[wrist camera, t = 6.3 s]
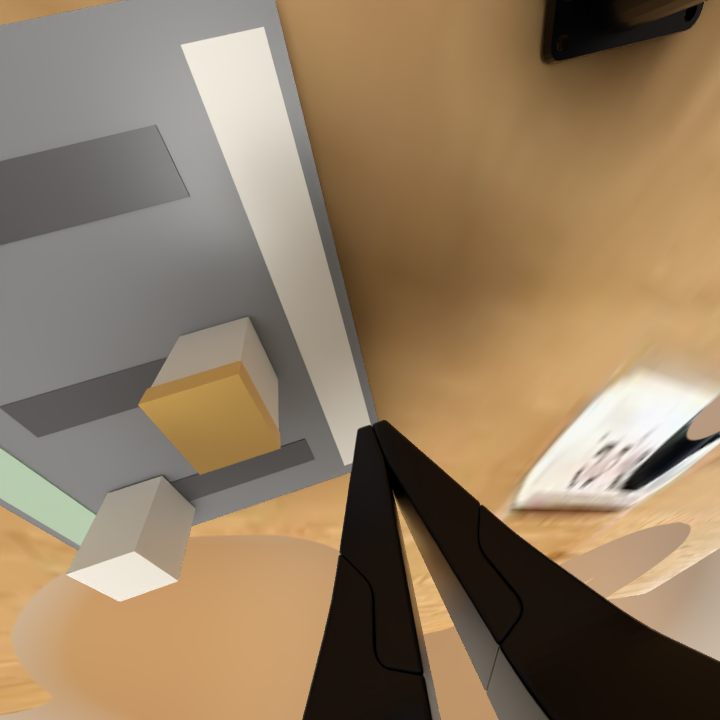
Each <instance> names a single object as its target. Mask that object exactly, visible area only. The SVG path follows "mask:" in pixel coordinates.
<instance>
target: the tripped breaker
mask: <svg viewBox="0 0 720 720" xmlns="http://www.w3.org/2000/svg"><path fill="white" fill-rule="evenodd" d="M138 406H139V407H140V408H141V409H142V410H143V411H144V412H145V413H146V415H147V416H148V417H149V418H150V419H151V420H152V421H153V423H154V424H155V425H156V426H157V427H158V428H159V429H160V430H161V432H162V433H163V434H164V435H165V436H166V437H167V438H168V439H169V441H170V442H171V443H172V444H173V445H174V446H175V447H176V449H177V450H178V451H179V452H180V453H181V454H182V455H183V456H184V458H185V459H186V460H187V461H188V462H189V463H190V464H191V465H192V467H193V468H194V469H195V470H196V471H197V472H198V473H199V475H201V474H204V473H207V472H211V471H214V470H217V469H220V468H223V467H226V466H229V465H232V464H235V463H238V462H241V461H244V460H247V459H250V458H253V457H256V456H260V455H263V454H266V453H269V452H272V451H275V450H278V449H281V443H280V432H279V413H278V378H277V376H276V374H275V371H274V369H273V367H272V365H271V363H270V361H269V359H268V357H267V355H266V352H265V350H264V348H263V346H262V344H261V342H260V340H259V338H258V335H257V333H256V331H255V329H254V327H253V325H252V323H251V321H250V319H249V316H248V317H245V318H241V319H238V320H234V321H231V322H227V323H224V324H220V325H217V326H214V327H210V328H207V329H203V330H200V331H196V332H193V333H189V334H186V335H182V336H179V338H178V340H177V342H176V343H175V345H174V347H173V349H172V351H171V352H170V354H169V356H168V358H167V359H166V361H165V363H164V365H163V366H162V368H161V370H160V372H159V374H158V375H157V377H156V379H155V381H154V382H153V384H152V386H151V388H148V389H147V390H146V391H145V393H144V395H143V397H142V398H141V400H140V402H139V404H138Z"/></svg>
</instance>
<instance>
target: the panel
mask: <svg viewBox="0 0 720 720" xmlns="http://www.w3.org/2000/svg"><path fill="white" fill-rule="evenodd" d="M248 316H249V319H250V321H251V323H252V325H253V327H254V329H255V331H256V333H257V335H258V338H259V340H260V342H261V344H262V346H263V348H264V350H265V352H266V355H267V357H268V359H269V361H270V363H271V365H272V367H273V369H274V371H275V374H276V376H277V378H278V413H279V432H280V443H281V449H278V450H275V451H272V452H269V453H266V454H263V455H260V456H256V457H253V458H250V459H247V460H244V461H241V462H238V463H235V464H232V465H229V466H226V467H223V468H220V469H217V470H214V471H211V472H207V473H204V474H201V475H199V473H198V472H197V471H196V470H195V469H194V468H193V467H192V465H191V464H190V463H189V462H188V461H187V460H186V459H185V458H184V456H183V455H182V454H181V453H180V452H179V451H178V450H177V449H176V447H175V446H174V445H173V444H172V443H171V442H170V441H169V439H168V438H167V437H166V436H165V435H164V434H163V433H162V432H161V430H160V429H159V428H158V427H157V426H156V425H155V424H154V423H153V421H152V420H151V419H150V418H149V417H148V416H147V415H146V413H145V412H144V411H143V410H142V409H141V408H140V407H139V406H138V404H139V402H140V400H141V398H142V397H143V395H144V393H145V391H146V390H147V389H148V388H151V386H152V384H153V382H154V381H155V379H156V377H157V375H158V374H159V372H160V370H161V368H162V366H163V365H164V363H165V361H166V359H167V358H168V356H169V354H170V352H171V351H172V349H173V347H174V345H175V343H176V342H177V340H178V338H179V336H182V335H186V334H189V333H193V332H196V331H200V330H203V329H207V328H210V327H214V326H217V325H220V324H224V323H227V322H231V321H234V320H238V319H241V318H245V317H248ZM376 422H378V418H377V414H376V410H375V406H374V402H373V398H372V394H371V390H370V386H369V382H368V378H367V373H366V369H365V365H364V361H363V357H362V353H361V349H360V345H359V341H358V337H357V333H356V329H355V325H354V321H353V316H352V312H351V308H350V304H349V300H348V296H347V292H346V288H345V284H344V280H343V276H342V272H341V268H340V263H339V259H338V255H337V251H336V247H335V243H334V239H333V235H332V231H331V227H330V223H329V219H328V215H327V211H326V206H325V202H324V198H323V194H322V190H321V186H320V182H319V178H318V174H317V170H316V166H315V162H314V158H313V154H312V149H311V145H310V141H309V137H308V133H307V129H306V125H305V121H304V117H303V113H302V109H301V105H300V101H299V96H298V92H297V88H296V84H295V80H294V76H293V72H292V68H291V64H290V60H289V56H288V52H287V48H286V44H285V39H284V35H283V31H282V27H281V23H280V19H279V15H278V11H277V7H276V3H275V0H123V1H118V2H113V3H108V4H103V5H98V6H94V7H89V8H84V9H79V10H74V11H69V12H64V13H59V14H54V15H49V16H44V17H39V18H34V19H29V20H25V21H20V22H15V23H10V24H5V25H0V506H2V507H4V508H6V509H7V510H9V511H11V512H12V513H14V514H16V515H18V516H19V517H21V518H23V519H25V520H26V521H28V522H30V523H31V524H33V525H35V526H37V527H38V528H40V529H42V530H43V531H45V532H47V533H49V534H50V535H52V536H54V537H56V538H57V539H59V540H61V541H62V542H64V543H66V544H68V545H69V546H71V547H73V548H75V549H76V550H79V548H80V546H81V544H82V542H83V540H84V538H85V536H86V534H87V532H88V530H89V528H90V526H91V524H92V522H93V521H94V519H95V517H96V515H97V513H98V511H99V509H100V507H101V505H102V503H103V501H104V499H105V497H106V495H107V493H110V492H113V491H117V490H120V489H123V488H126V487H129V486H132V485H135V484H138V483H141V482H144V481H147V480H150V479H154V478H157V477H160V476H163V477H164V478H165V479H166V480H167V481H168V482H169V483H170V484H171V485H172V486H173V487H174V488H175V489H176V490H177V491H178V492H179V493H180V494H181V495H182V496H183V497H184V498H185V499H186V500H187V501H188V502H189V503H190V504H191V505H192V506H193V507H194V508H195V513H194V517H193V521H192V526H194V525H197V524H200V523H203V522H206V521H209V520H212V519H214V518H217V517H220V516H223V515H226V514H229V513H232V512H235V511H238V510H241V509H244V508H247V507H250V506H253V505H256V504H259V503H262V502H265V501H268V500H271V499H274V498H276V497H279V496H282V495H285V494H288V493H291V492H294V491H297V490H300V489H303V488H306V487H309V486H312V485H315V484H318V483H321V482H324V481H327V480H330V479H333V478H336V477H338V476H341V475H344V474H347V473H350V472H351V470H352V463H353V456H354V449H355V442H356V436H357V430H358V429H359V428H361V427H364V426H367V425H371V426H372V425H373V424H374V423H376Z"/></svg>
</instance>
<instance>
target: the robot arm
mask: <svg viewBox="0 0 720 720" xmlns="http://www.w3.org/2000/svg"><path fill="white" fill-rule="evenodd" d="M705 1H707V0H548V9H547V18H546V27H545V37H544V46H543V56H544V59H545V61H546V62H547V63H548V64H554V63H559V62H563V61H567V60H571V59H575V58H579V57H583V56H587V55H591V54H595V53H599V52H604V51H608V50H612V49H616V48H620V47H624V46H628V45H632V44H636V43H640V42H644V41H649V40H653V39H657V38H661V37H665V36H669V35H673V34H676V33H679V32H682V31H685V30H687V29H689V28H691V27H692V26H693V25H694V24H695V22H696V21H697V19H698V17H699V15H700V13H701V11H702V8H703V4H704V2H705ZM559 38H560V40H561V47H560V50H559V51H558V50H557V42H558V39H559ZM393 494H394V495H393ZM394 497H395V499H396V502H397V504H398V506H399V508H400V511H401V513H402V515H403V517H404V519H405V521H406V523H407V525H408V528H409V530H410V532H411V534H412V536H413V538H414V540H415V542H416V545H417V547H418V549H419V551H420V553H421V555H422V557H423V559H424V562H425V564H426V566H427V568H428V570H429V572H430V574H431V576H432V579H433V581H434V583H435V585H436V587H437V589H438V591H439V593H440V596H441V598H442V600H443V602H444V604H445V606H446V608H447V610H448V613H449V615H450V617H451V619H452V621H453V623H454V625H455V627H456V630H457V632H458V634H459V636H460V638H461V640H462V642H463V644H464V646H465V649H466V651H467V653H468V655H469V657H470V659H471V661H472V663H473V665H474V668H475V670H476V672H477V674H478V676H479V678H480V680H481V682H482V685H483V687H484V689H485V690H486V691H487V695H488V697H489V700H490V702H491V704H492V706H493V708H494V710H495V712H496V714H497V717H498V719H499V720H720V661H718V660H716V659H714V658H712V657H709V656H707V655H705V654H703V653H701V652H699V651H697V650H695V649H692V648H690V647H688V646H686V645H684V644H682V643H680V642H678V641H675V640H673V639H671V638H669V637H667V636H665V635H663V634H661V633H659V632H658V631H656V630H654V629H651V628H650V627H648V626H647V625H645V624H643V623H642V622H640V621H638V620H637V619H635V618H633V617H632V616H630V615H629V614H627V613H626V612H624V611H623V610H621V609H619V608H618V607H617V606H615V605H614V604H612V603H611V602H610V601H608V600H607V599H605V598H604V597H603V596H601V595H600V594H598V593H597V592H596V591H594V590H593V589H591V588H590V587H589V586H587V585H586V584H585V583H583V582H582V581H580V580H579V579H578V578H576V577H575V576H573V575H572V574H571V573H569V572H568V571H566V570H565V569H564V568H562V567H561V566H559V565H558V564H557V563H555V562H554V561H553V560H551V559H550V558H548V557H547V556H546V555H544V554H543V553H542V552H540V551H539V550H538V549H536V548H535V547H534V546H532V545H531V544H530V543H528V542H527V541H526V540H524V539H523V538H522V537H520V536H519V535H518V534H516V533H515V532H514V531H513V530H512V529H510V528H509V527H508V526H507V525H506V524H504V523H503V522H502V521H501V520H500V519H498V518H497V517H496V516H495V515H494V514H493V513H491V512H490V511H489V510H488V509H487V508H486V507H485V506H483V505H480V502H479V501H478V500H476V499H475V498H474V497H473V496H472V495H471V494H470V493H468V492H467V491H466V490H465V489H464V488H463V487H462V486H460V485H459V484H458V483H457V482H456V481H455V480H454V479H452V478H451V477H450V476H449V475H448V474H447V473H446V472H444V471H443V470H442V469H441V468H440V467H439V466H438V465H436V464H435V463H434V462H433V461H432V460H431V459H430V458H429V457H427V456H426V455H425V454H424V453H423V452H422V451H421V450H419V449H418V448H417V447H416V446H415V445H414V444H413V443H411V442H410V441H409V440H408V439H407V438H406V437H405V436H403V435H402V434H401V433H400V432H399V431H398V430H397V429H395V428H394V427H393V426H392V425H391V424H390V423H389V422H387V421H386V420H382V421H379V422H376V423H374V424H373V425H372V426H371V425H367V426H364V427H361V428H359V429H358V430H357V436H356V442H355V449H354V456H353V463H352V470H351V476H350V483H349V490H348V497H347V504H346V510H345V517H344V524H343V531H342V538H341V545H340V551H339V552H340V554H341V555H339V558H338V564H337V571H336V577H335V582H334V588H333V594H332V600H331V605H330V609H329V614H328V618H327V622H326V627H325V631H324V636H323V640H322V644H321V648H320V652H319V656H318V660H317V663H316V668H315V672H314V676H313V680H312V683H311V687H310V692H309V696H308V699H307V704H306V707H305V711H304V715H303V719H302V720H441V718H440V713H439V711H438V704H437V699H436V694H435V689H434V685H433V680H432V675H431V670H430V665H429V661H428V656H427V651H426V646H425V641H424V636H423V632H422V627H421V622H420V617H419V612H418V608H417V603H416V598H415V593H414V588H413V584H412V579H411V574H410V569H409V564H408V560H407V555H406V550H405V545H404V540H403V536H402V531H401V526H400V521H399V516H398V512H397V507H396V503H395V499H394Z"/></svg>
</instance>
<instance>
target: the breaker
mask: <svg viewBox="0 0 720 720" xmlns="http://www.w3.org/2000/svg"><path fill="white" fill-rule="evenodd" d="M194 513H195V508H194V507H193V506H192V505H191V504H190V503H189V502H188V501H187V500H186V499H185V498H184V497H183V496H182V495H181V494H180V493H179V492H178V491H177V490H176V489H175V488H174V487H173V486H172V485H171V484H170V483H169V482H168V481H167V480H166V479H165V478H164V477H163V476H160V477H157V478H154V479H150V480H147V481H144V482H141V483H138V484H135V485H132V486H129V487H126V488H123V489H120V490H117V491H113V492H110V493H107V495H106V497H105V499H104V501H103V503H102V505H101V507H100V509H99V511H98V513H97V515H96V517H95V519H94V521H93V522H92V524H91V526H90V528H89V530H88V532H87V534H86V536H85V538H84V540H83V542H82V544H81V546H80V548H79V550H78V552H77V554H76V556H75V558H74V559H73V561H72V563H71V565H70V567H69V569H68V571H67V573H66V575H67V576H69V577H71V578H74V579H76V580H77V581H79V582H81V583H83V584H86V585H87V586H89V587H92V588H93V589H96V590H98V591H99V592H101V593H103V594H105V595H108V596H109V597H111V598H113V599H115V600H117V601H123V600H126V599H129V598H131V597H134V596H137V595H140V594H143V593H146V592H149V591H151V590H154V589H157V588H160V587H163V586H166V585H169V584H171V583H174V582H177V581H179V577H180V572H181V568H182V564H183V559H184V555H185V551H186V547H187V542H188V538H189V534H190V530H191V526H192V521H193V517H194Z"/></svg>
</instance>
